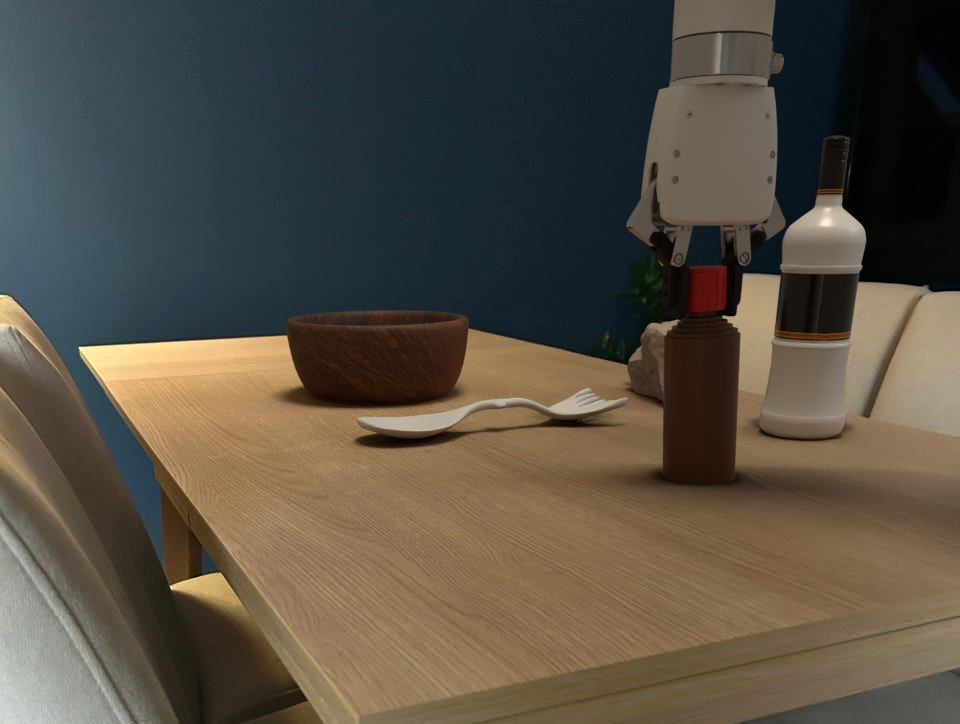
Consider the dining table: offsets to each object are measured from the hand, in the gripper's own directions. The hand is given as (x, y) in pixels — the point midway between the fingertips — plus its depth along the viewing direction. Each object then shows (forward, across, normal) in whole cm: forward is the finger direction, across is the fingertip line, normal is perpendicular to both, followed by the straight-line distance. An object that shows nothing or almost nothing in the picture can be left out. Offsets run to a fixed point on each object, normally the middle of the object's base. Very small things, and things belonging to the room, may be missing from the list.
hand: (700, 313), depth 82 cm
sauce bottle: (+15, -1, 0) cm, 15 cm away
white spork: (+15, +10, -30) cm, 35 cm away
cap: (0, 0, 0) cm, 0 cm away
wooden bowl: (+15, +18, -59) cm, 64 cm away
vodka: (+15, -23, -18) cm, 33 cm away
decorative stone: (+15, -19, -44) cm, 50 cm away
